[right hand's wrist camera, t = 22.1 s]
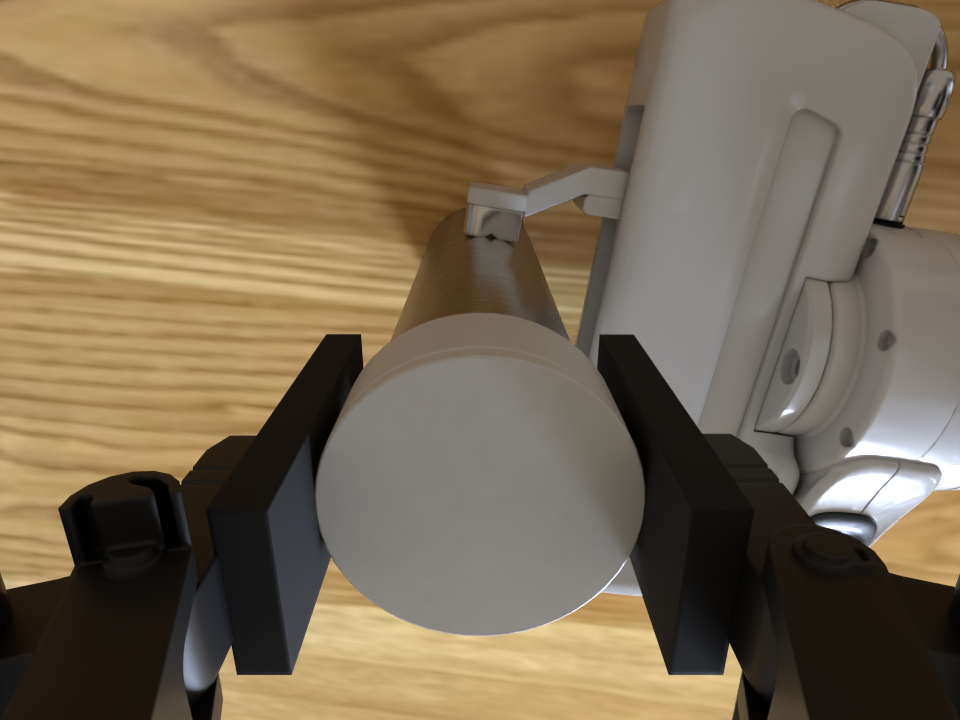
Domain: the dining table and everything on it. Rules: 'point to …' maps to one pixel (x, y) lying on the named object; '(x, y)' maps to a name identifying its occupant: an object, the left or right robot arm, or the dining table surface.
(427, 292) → the brown metallic tall cylinder
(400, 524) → the lid
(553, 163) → the dining table surface
